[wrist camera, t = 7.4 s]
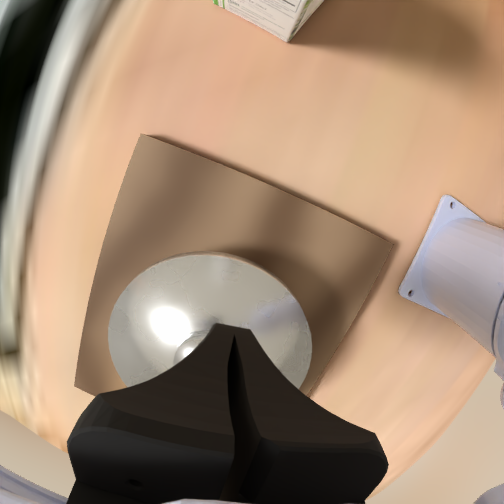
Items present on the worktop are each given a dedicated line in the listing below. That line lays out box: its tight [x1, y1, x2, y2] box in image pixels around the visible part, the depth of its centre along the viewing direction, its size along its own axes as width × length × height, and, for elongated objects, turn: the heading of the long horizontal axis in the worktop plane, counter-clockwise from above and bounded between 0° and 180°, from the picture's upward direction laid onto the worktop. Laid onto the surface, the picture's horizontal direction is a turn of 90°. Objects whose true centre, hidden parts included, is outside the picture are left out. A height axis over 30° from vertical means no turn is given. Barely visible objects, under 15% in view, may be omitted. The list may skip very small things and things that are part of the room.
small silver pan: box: [108, 251, 312, 389], centre depth 19 cm, size 16×12×4 cm
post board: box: [74, 134, 394, 396], centre depth 19 cm, size 17×20×5 cm
